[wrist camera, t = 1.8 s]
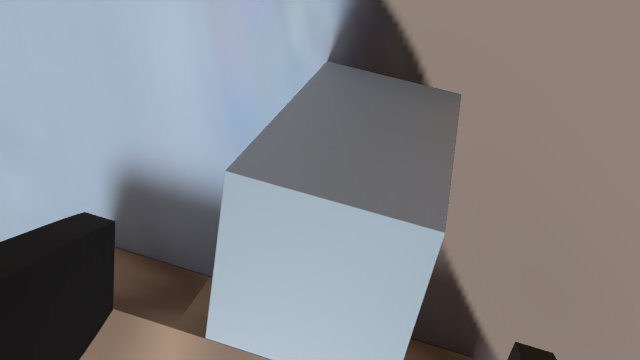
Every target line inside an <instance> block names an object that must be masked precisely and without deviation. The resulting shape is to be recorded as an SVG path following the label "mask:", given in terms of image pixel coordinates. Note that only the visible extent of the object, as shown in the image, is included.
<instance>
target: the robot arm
mask: <svg viewBox="0 0 640 360" xmlns="http://www.w3.org/2000/svg"><path fill="white" fill-rule="evenodd" d="M114 252H115V221H112V220H109V219H105V218H102V217H99V216H96V215H92V214H89V213H86V212H84V213H81V214H77V215H74V216H71V217H68V218H65V219H62V220H59V221H56V222H53V223H51V224H48V225H45V226H42V227H40V228H37V229H34V230H32V231H29V232H26V233H24V234H21V235H18V236H16V237H13V238H10V239H7V240H5V241H2V242H0V360H79V359H80V358H81V357H82V356H83V354H84V353H85V351H86V350H87V348H88V347H89V346H90V344H91V343H92V341H93V340H94V338H95V337H96V335H97V334H98V332H99V331H100V329H101V328H102V326H103V325H104V323H105V321H106V320H107V318H108V317H109V315H110V314H111V312H112V311H113V297H114ZM508 360H557V359H556V358H555V356H554V354H553V353H551V352H548V351H544V350H541V349H537V348H534V347H531V346H528V345H524V344H521V343H518V342H515V344H514V346H513V348H512V351H511V353H510V355H509V358H508Z"/></svg>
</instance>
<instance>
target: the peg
mask: <svg viewBox="0 0 640 360" xmlns="http://www.w3.org/2000/svg"><path fill="white" fill-rule="evenodd" d="M460 100H461V95H460V94H457V93H453V92H449V91H445V90H441V89H437V88H433V87H429V86H425V85H421V84H417V83H413V82H409V81H405V80H401V79H397V78H393V77H389V76H385V75H381V74H377V73H373V72H369V71H365V70H361V69H357V68H353V67H349V66H345V65H341V64H337V63H333V62H329V61H327V62H326V63H325V64H324V65H323V66H322V67H321V68H320V70H319V71H318V72H317V73H316V74H315V75H314V76H313V77H312V78H311V79H310V80H309V81H308V82H307V84H306V85H305V86H304V87H303V88H302V89H301V90H300V91H299V92H298V93H297V94H296V95H295V96H294V98H293V99H292V100H291V101H290V102H289V103H288V104H287V105H286V106H285V107H284V108H283V109H282V110H281V112H280V113H279V114H278V115H277V116H276V117H275V118H274V119H273V120H272V121H271V122H270V123H269V124H268V126H267V127H266V128H265V129H264V130H263V131H262V132H261V133H260V134H259V135H258V136H257V137H256V138H255V139H254V141H253V142H252V143H251V144H250V145H249V146H248V147H247V148H246V149H245V150H244V151H243V152H242V153H241V155H240V156H239V157H238V158H237V159H236V160H235V161H234V162H233V163H232V164H231V165H230V166H229V167H228V169H227V170H226V171H225V177H224V186H223V194H222V203H221V211H220V220H219V228H218V236H217V245H216V253H215V262H214V270H213V279H212V287H211V295H210V304H209V312H208V321H207V329H206V337H205V338H207V339H210V340H213V341H216V342H219V343H222V344H225V345H228V346H231V347H234V348H238V349H241V350H244V351H247V352H250V353H253V354H256V355H259V356H262V357H265V358H268V359H272V360H403V359H404V356H405V353H406V350H407V347H408V344H409V341H410V338H411V335H412V332H413V329H414V326H415V323H416V320H417V317H418V314H419V311H420V308H421V305H422V301H423V298H424V295H425V292H426V289H427V286H428V283H429V280H430V277H431V274H432V271H433V268H434V265H435V262H436V259H437V256H438V253H439V250H440V247H441V244H442V241H443V238H444V235H445V229H446V221H447V212H448V203H449V194H450V186H451V177H452V169H453V159H454V151H455V143H456V134H457V126H458V117H459V107H460Z"/></svg>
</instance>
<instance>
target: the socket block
mask: <svg viewBox="0 0 640 360" xmlns="http://www.w3.org/2000/svg"><path fill="white" fill-rule="evenodd" d="M212 279H213V278H212V277H209V276H206V275H202V274H199V273H196V272H193V271H189V270H186V269H183V268H180V267H176V266H173V265H170V264H167V263H163V262H160V261H157V260H154V259H150V258H147V257H144V256H141V255H137V254H134V253H131V252H128V251H125V250H121V249H118V248H115V252H114V297H113V311H112V312H111V314H110V315H109V317H108V318H107V320H106V321H105V323H104V325H103V326H102V328H101V329H100V331H99V332H98V334H97V335H96V337H95V338H94V340H93V341H92V343H91V344H90V346H89V347H88V348H87V350H86V351H85V353H84V354H83V356H82V357H81V358H80V359H79V360H272V359H268V358H265V357H262V356H259V355H256V354H253V353H250V352H247V351H244V350H241V349H238V348H234V347H231V346H228V345H225V344H222V343H219V342H216V341H213V340H210V339H207V338H205V337H206V329H207V321H208V312H209V304H210V295H211V287H212ZM403 360H472V358H471V357H468V356H465V355H462V354H458V353H455V352H452V351H449V350H445V349H442V348H439V347H436V346H433V345H429V344H426V343H423V342H420V341H416V340H413V339H410V341H409V344H408V347H407V350H406V353H405V356H404V359H403Z"/></svg>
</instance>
